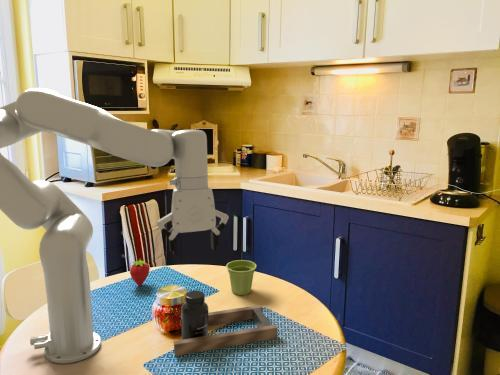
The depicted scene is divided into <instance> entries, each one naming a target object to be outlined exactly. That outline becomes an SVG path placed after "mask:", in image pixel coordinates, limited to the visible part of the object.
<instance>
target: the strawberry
mask: <svg viewBox="0 0 500 375" xmlns="http://www.w3.org/2000/svg"><path fill="white" fill-rule="evenodd" d="M131 264H132V265H131V266H130V269H129V274H130V277H131V279H132V281H133V282H134V283H135V284H136V285H137V286H138V287H141V286H142V285H143V284H144V283H145V281H146V280H147V278H148V276H149V273H150V265H149V264H148V263H147V262H146V260H142V259H138V260H134V261H133V262H131Z"/></svg>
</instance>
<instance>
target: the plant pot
mask: <svg viewBox="0 0 500 375" xmlns="http://www.w3.org/2000/svg"><path fill="white" fill-rule="evenodd" d="M225 267H226V269H227V272H228V275H229V281H230V287H231V293H232V294H235V295H237V296H245V295H249V293H251V292H252V286H253V279H254V273H255V272H256V271H255V270H256V269H257V264H256V263H255V262H254V261H251V260H245V259H244V260H243V259H239V260H232V261H230V262H227V264H226V265H225Z"/></svg>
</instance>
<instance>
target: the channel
mask: <svg viewBox="0 0 500 375" xmlns="http://www.w3.org/2000/svg"><path fill="white" fill-rule="evenodd" d="M263 311H264V308H263V306H262V304H257V305H251V306H244V307H238V308H229V309H223V310H217V311H210V312H209V311H208V327H210V326H215V325H221V324H227V323H228V324H229V323H235V322H240V321H241V322H242V321H247V320H253V322H254V324H255V325H256V326H257V327H253V328H247V329H240V330H234V331H227V332H221V333H215V334H208V336H202V337H196V338H190V339H184V340H182V339H179V340H174V341H173V354H174V357H177V356H178V357H179V356H182V355H188V354H195V353H200V352H206V351H211V350H217V349H224V348H228V347H234V346H240V345H246V344H252V343H258V342H264V341H269V340H275V339H278V325H276V324H272V323H271V322H270V321H269V319H268V318H267V316H266V315H265V313H264V312H263Z"/></svg>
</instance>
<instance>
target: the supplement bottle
mask: <svg viewBox="0 0 500 375" xmlns="http://www.w3.org/2000/svg"><path fill="white" fill-rule="evenodd" d="M180 308H181V309H180V310H181V311H180V317H181V330H180V333H181V334H180V335H181V336H180V337H181V340H184V339H190V338H196V337H202V336H208V335H209V326H208V313H209V306H208V303H207V302H206V301H205V293H204V292H203V291H201V290H197V289H196V290H190V291H187V292H186V293H185V295H184V303H182V305H181V307H180Z"/></svg>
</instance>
